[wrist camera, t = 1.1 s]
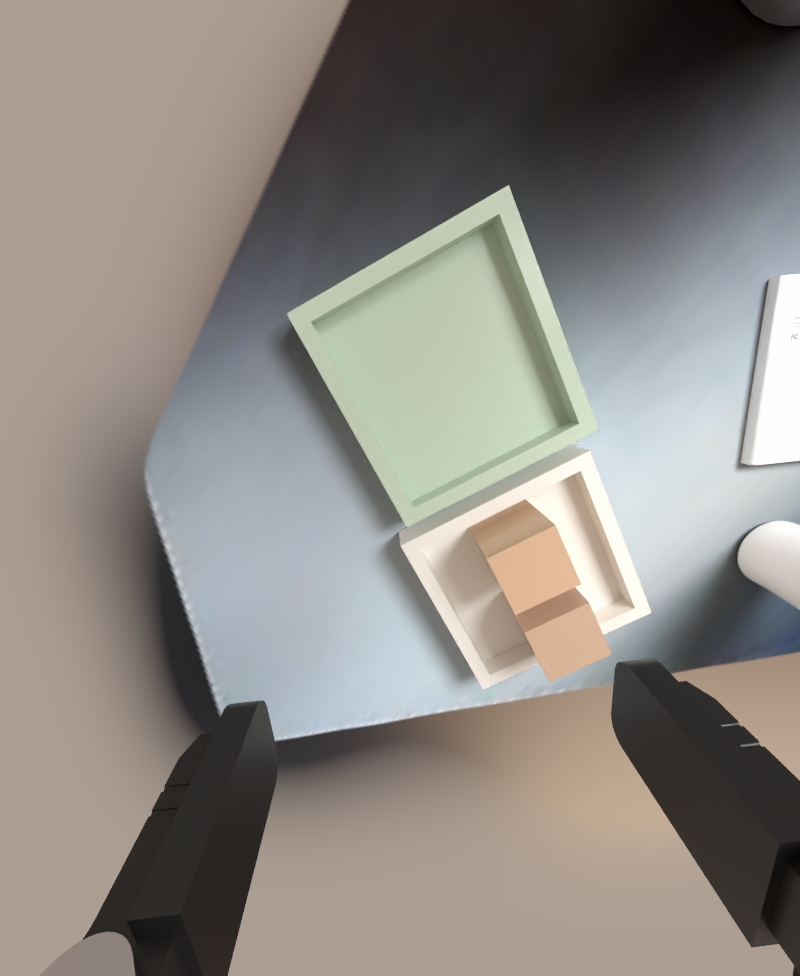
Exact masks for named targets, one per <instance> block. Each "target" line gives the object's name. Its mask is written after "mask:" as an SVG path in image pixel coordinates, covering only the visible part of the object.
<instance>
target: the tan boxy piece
mask: <svg viewBox="0 0 800 976" xmlns="http://www.w3.org/2000/svg"><path fill="white" fill-rule="evenodd" d="M469 529H470V531H471V533H472V535H473V537H474V539H475V541H476V543H477V545H478V547H479V549H480V551H481V553H482V555H483V557H484V559H485V561H486V563H487V564H488V566H489V568H490V570H491V572H492V574H493V576H494V578H495V580H496V582H497V583H498V585H499V587H500V589H501V590H502V592H503V594H504V596H505V598H506V599H507V601H508V603H509V605H510V606H511V608H512V610H513V612H514V614H515V615H517V614H519V613H521V612H523V611H525V610H528V609H530V608H532V607H534V606H536V605H538V604H540V603H542V602H545V601H547V600H549V599H551V598H553V597H555V596H557V595H559V594H562V593H564V592H566V591H568V590H570V589H572V588H574V587H576V586H579V585H581V583H580V580H579V578H578V576H577V573H576V571H575V569H574V566H573V564H572V562H571V560H570V557H569V555H568V553H567V550H566V548H565V546H564V543H563V541H562V539H561V537H560V534H559V532H558V530H557V527H556V525H555V524H554V523H552V522H551V521H550V520H549V519H548V518H547V517H546V516H544V515H543V514H542V513H541V512H540V511H539V510H537V509H536V508H535V507H534V506H533V505H532V504H530V503H529V502H528V501H527V500H526V499H524V500H522V501H520V502H518V503H516V504H514V505H512V506H510V507H508V508H506V509H504V510H502V511H500V512H498V513H496V514H494V515H492V516H490V517H488V518H486V519H484V520H482V521H480V522H478V523H476V524H474V525H472V526H470V527H469Z"/></svg>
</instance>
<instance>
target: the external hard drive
mask: <svg viewBox="0 0 800 976" xmlns="http://www.w3.org/2000/svg"><path fill="white" fill-rule="evenodd" d="M793 461H800V274H792V275H784V276H778V277H774V278H771V279H769V283H768V289H767V295H766V301H765V308H764V314H763V320H762V327H761V333H760V339H759V346H758V352H757V358H756V364H755V371H754V378H753V384H752V391H751V397H750V404H749V410H748V416H747V423H746V430H745V436H744V443H743V449H742V456H741V462H740V463H743V464H747V465H765V464H774V463H784V462H793Z"/></svg>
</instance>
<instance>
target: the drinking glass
mask: <svg viewBox="0 0 800 976" xmlns="http://www.w3.org/2000/svg"><path fill="white" fill-rule="evenodd" d="M737 559H738V565H739V568H740V570H741V572H742V573H743V574H744V575H745V576H746V577H747V578H748V579H750V580H751V581H753V582H755V583H756V584H758V585H760V586H762V587H764V588H765V589H767V590H769V591H770V592H772V593H774V594H775V595H777V596H778V597H780V598H781V599H783V600H784V601H786V602H787V603H789V604H790V605H792V606H793V607H795V608H796V609H798V610H799V611H800V525H799V524H796V523H793V522H788V521H772V522H768V523H765V524H763V525H761V526H759V527H757V528H755V529H754V530H753V531H751V532H750V533H749V534H748V535H747V536H746V538H745V539H744V540H743V542H742V543H741V545H740V548H739V551H738V557H737Z"/></svg>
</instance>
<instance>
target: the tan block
mask: <svg viewBox="0 0 800 976" xmlns="http://www.w3.org/2000/svg"><path fill="white" fill-rule="evenodd" d="M501 592H502V591H501ZM502 594H503V592H502ZM503 596H504V594H503ZM504 598H505V596H504ZM505 600H506V602H507V604H508V606H509V608H510V610H511V612H512V614H513V616H514V617H515V619H516V621H517V623H518V625H519V627H520V629H521V631H522V633H523V635H524V637H525V639H526V641H527V642H528V644H529V646H530V648H531V650H532V651H533V653H534V655H535V657H536V659H537V661H538V662H539V664H540V666H541V668H542V670H543V671H544V673H545V675H546V677H547V679H548V681H549V682H552V681H554V680H556V679H558V678H560V677H563V676H565V675H567V674H569V673H572V672H574V671H576V670H578V669H580V668H583V667H585V666H587V665H589V664H591V663H594V662H596V661H598V660H600V659H603V658H605V657H607V656H609V655H611V652H610V649H609V647H608V645H607V642H606V640H605V638H604V635H603V633H602V631H601V629H600V626H599V624H598V622H597V619H596V617H595V615H594V612H593V610H592V608H591V606H590V603H589V602H588V601H587V600H586V599H585V597H584V596H583V595H582V594H581V593H580V592H579V591H578V590H577V589H576V588H575V587H574V588H572V589H570V590H568V591H566V592H564V593H562V594H559V595H557V596H555V597H553V598H551V599H549V600H547V601H545V602H542V603H540V604H538V605H536V606H534V607H532V608H530V609H528V610H525V611H523V612H521V613H519V614H517V615H515V614H514V612H513V610H512V608H511V606H510V605H509V603H508V601H507V599H506V598H505Z"/></svg>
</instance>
